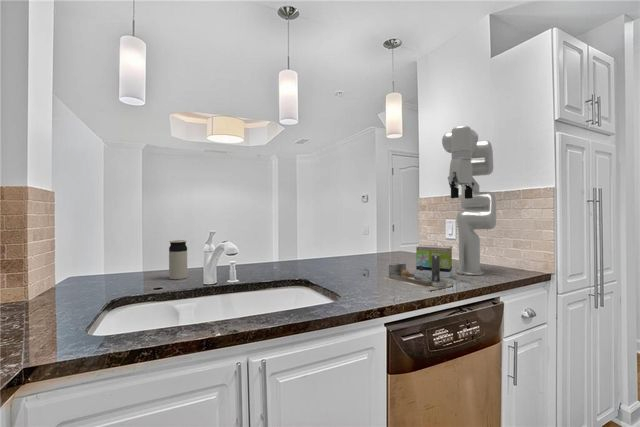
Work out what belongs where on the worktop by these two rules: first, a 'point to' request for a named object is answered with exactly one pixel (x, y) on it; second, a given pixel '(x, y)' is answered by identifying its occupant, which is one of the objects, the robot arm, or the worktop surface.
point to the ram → (433, 274)
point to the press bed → (396, 276)
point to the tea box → (425, 259)
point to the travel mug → (178, 259)
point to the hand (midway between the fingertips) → (461, 198)
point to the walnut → (405, 273)
